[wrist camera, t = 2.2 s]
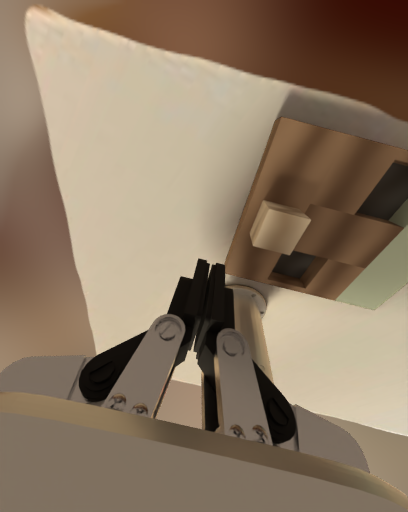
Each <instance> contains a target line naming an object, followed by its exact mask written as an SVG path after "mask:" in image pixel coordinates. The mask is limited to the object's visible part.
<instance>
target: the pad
mask: <svg viewBox="0 0 408 512" xmlns="http://www.w3.org/2000/svg"><path fill="white" fill-rule="evenodd" d="M388 221H390V222H393V223H395V224H397V225H399V226H401V227H404V229H403V230H402V231H401V232H400V233H399V234H398V235H397V236H396V237H395V238H394V239H393V240H392V241H391V242H390V244H389V245H388V246H387V247H386V248H385V249H384V250H383V251H382V252H381V253H380V254H379V255H378V256H377V257H376V258H375V259H374V260H373V261H372V262H371V263H370V264H369V265H368V266H367V267H366V268H365V269H364V271H363V272H362V273H361V274H360V275H359V276H358V277H357V278H356V279H355V280H354V281H353V282H352V283H351V284H350V285H349V286H348V287H347V288H346V289H345V290H344V291H343V292H342V293H341V294H340V295H339V296H338V298H337V299H336V300H335V301H339V302H343V303H347V304H351V305H355V306H359V307H363V308H367V309H371V310H375V309H377V308H378V307H379V306H380V305H381V304H383V303H384V302H385V301H386V300H388V299H389V298H390V297H391V296H392V295H394V294H395V293H396V292H397V291H399V290H400V289H401V288H402V287H403V286H405V285H406V284H407V283H408V199H407V200H406V201H405V202H404V203H403V204H402V206H401V207H400V208H399V209H398V210H397V211H396V212H395V213H394V215H393V216H392V217H391V218H390V219H389V220H388Z"/></svg>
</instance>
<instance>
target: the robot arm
mask: <svg viewBox="0 0 408 512" xmlns="http://www.w3.org/2000/svg"><path fill="white" fill-rule="evenodd" d="M209 266H210V264H209V263H207V260H203V259H199V258H198V262H197V266H196V270H195V273H194V277H193V279H190V278H186V277H182V276H181V277H180V280H179V282H178V285H177V288H176V291H175V293H174V296H173V299H172V302H171V304H170V307H169V310H168V313H167V314H165V315H162V316H160V317H158V318H157V319H156V320H155V321H154V322H153V324H152V325H151V327H150V328H149V330H147V331H145V332H143V333H141V334H139V335H137V336H135V337H133V338H131V339H129V340H127V341H125V342H123V343H121V344H119V345H117V346H115V347H113V348H111V349H109V350H107V351H105V352H103V353H101V354H99V355H97V356H95V357H86V356H85V355H80V356H40V357H39V356H38V357H27V358H22V359H20V360H18V361H16V362H13V363H12V364H11V365H9V366H8V367H6V368H5V369H4V370H3V371H2V372H1V373H0V512H408V496H406V495H405V494H404V493H403V492H401V491H400V490H398V489H397V488H395V487H393V486H392V485H390V484H389V483H387V482H386V481H384V480H382V479H380V478H378V477H377V476H375V475H372V474H370V471H369V468H368V464H367V461H366V459H365V456H364V454H363V451H362V450H361V448H360V446H359V445H358V443H357V442H356V440H355V439H354V438H353V437H352V436H351V435H350V434H349V433H348V432H347V431H345V430H344V429H342V428H341V427H339V426H337V425H335V424H333V423H331V422H329V421H327V420H325V419H323V418H321V417H319V416H317V415H316V414H314V413H312V412H310V411H308V410H306V409H304V408H302V407H300V406H298V405H296V404H295V405H294V406H293V405H292V404H290V403H289V402H288V401H287V400H286V398H285V397H284V396H283V395H282V393H281V392H280V391H279V390H278V389H277V388H276V386H275V385H274V382H273V377H272V372H271V367H270V361H269V356H268V351H267V346H266V341H265V336H264V331H263V326H262V320H261V319H262V318H263V317H264V315H265V313H266V302H265V300H264V297H263V296H262V295H261V294H260V293H259V292H258V291H256V290H254V289H252V288H250V287H247V286H241V285H232V286H226V287H225V265H223V264H219V263H216V265H213V264H212V267H211V270H210V274H209V277H208V273H209ZM207 279H208V280H207ZM195 335H196V338H195ZM194 338H195V344H194V352H197V355H196V359H198V363H197V364H198V365H199V367H200V368H201V370H202V373H201V387H202V429H198V428H193V427H189V426H184V425H179V424H175V423H171V422H166V421H162V420H158V419H156V417H157V415H158V412H159V410H160V407H161V404H162V402H163V399H164V397H165V394H166V391H167V388H168V386H169V383H170V381H171V378H172V376H173V373H174V370H175V368H176V366H177V365H179V364H180V363H182V362H183V361H185V358H186V355H187V351H188V350H189V351H190V350H191V347H192V344H193V341H194Z"/></svg>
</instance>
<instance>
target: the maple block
mask: <svg viewBox="0 0 408 512" xmlns="http://www.w3.org/2000/svg"><path fill="white" fill-rule="evenodd" d="M310 221H311V219H310V218H309V217H308V216H306V215H305V214H304V213H303V212H302V211H301V210H299V209H296V208H292V207H289V206H285V205H281V204H277V203H273V202H269V201H265V200H263V201H262V204H261V206H260V209H259V211H258V214H257V216H256V219H255V221H254V223H253V226H252V228H251V231H250V237H251V240H252V244H253V246H255V247H259V248H263V249H267V250H271V251H275V252H279V253H283V254H287V255H290V254H291V253H292V251H293V249H294V248H295V246H296V244H297V243H298V241H299V239H300V238H301V236H302V234H303V233H304V231H305V229H306V228H307V226H308V225H309V223H310Z"/></svg>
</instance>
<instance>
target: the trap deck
mask: <svg viewBox="0 0 408 512" xmlns="http://www.w3.org/2000/svg"><path fill="white" fill-rule="evenodd" d="M407 199H408V150H405V149H402V148H398V147H394V146H390V145H386V144H383V143H379V142H375V141H371V140H368V139H364V138H360V137H356V136H352V135H349V134H345V133H341V132H337V131H334V130H330V129H326V128H322V127H319V126H315V125H311V124H307V123H303V122H300V121H296V120H292V119H288V118H285V117H281V118H279V119H277V120H275V123H274V125H273V128H272V131H271V134H270V137H269V139H268V142H267V145H266V148H265V151H264V154H263V156H262V159H261V162H260V165H259V168H258V171H257V173H256V176H255V179H254V182H253V185H252V187H251V190H250V193H249V196H248V199H247V202H246V204H245V207H244V210H243V213H242V216H241V218H240V221H239V224H238V227H237V230H236V233H235V235H234V238H233V241H232V244H231V247H230V250H229V252H228V255H227V258H226V261H225V274H229V275H233V276H237V277H242V278H246V279H250V280H254V281H258V282H262V283H266V284H270V285H274V286H278V287H282V288H286V289H290V290H294V291H298V292H302V293H306V294H310V295H314V296H318V297H322V298H326V299H330V300H336V299H337V298H338V296H339V295H340V294H341V293H342V292H343V291H344V290H345V289H346V288H347V287H348V286H349V285H350V284H351V283H352V282H353V281H354V280H355V279H356V278H357V277H358V276H359V275H360V274H361V273H362V272H363V271H364V269H365V268H366V267H367V266H368V265H369V264H370V263H371V262H372V261H373V260H374V259H375V258H376V257H377V256H378V255H379V254H380V253H381V252H382V251H383V250H384V249H385V248H386V247H387V246H388V245H389V244H390V242H391V241H392V240H393V239H394V238H395V237H396V236H397V235H398V234H399V233H400V232H401V231H402V230H403V229H404V227H401V226H399V225H397V224H395V223H393V222H390V221H388V220H389V219H390V218H391V217H392V216H393V215H394V213H395V212H396V211H397V210H398V209H399V208H400V207H401V206H402V204H403V203H404V202H405V201H406V200H407ZM263 200H265V201H269V202H273V203H277V204H281V205H285V206H289V207H292V208H296V209H299V210H301V211H302V212H303V213H304V214H305V215H306V216H308V217H309V218H310V219H311V221H310V223H309V225H308V226H307V228H306V229H305V231H304V233H303V234H302V236H301V238H300V239H299V241H298V243H297V244H296V246H295V248H294V249H293V251H292V253H291V254H290V255H287V254H283V253H279V252H275V251H271V250H267V249H263V248H259V247H255V246H253V244H252V240H251V237H250V231H251V228H252V226H253V223H254V221H255V219H256V216H257V214H258V211H259V209H260V206H261V204H262V201H263Z"/></svg>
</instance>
